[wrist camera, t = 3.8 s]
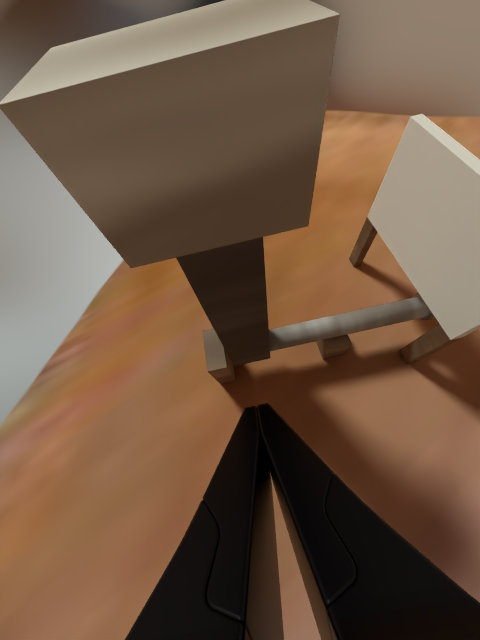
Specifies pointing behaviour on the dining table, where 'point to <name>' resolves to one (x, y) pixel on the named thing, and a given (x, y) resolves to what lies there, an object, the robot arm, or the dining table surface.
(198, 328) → the dining table surface
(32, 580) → the dining table surface
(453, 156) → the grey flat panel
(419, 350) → the peg stand
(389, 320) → the block-topped post frame
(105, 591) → the dining table surface
